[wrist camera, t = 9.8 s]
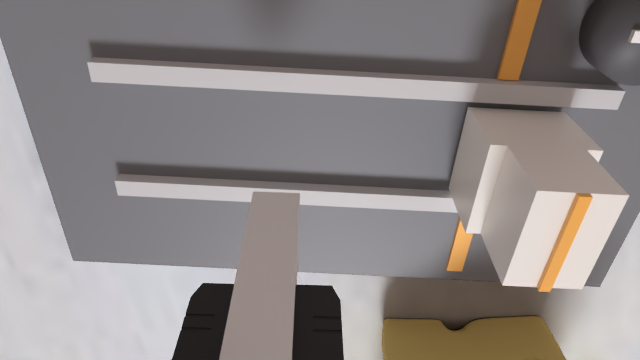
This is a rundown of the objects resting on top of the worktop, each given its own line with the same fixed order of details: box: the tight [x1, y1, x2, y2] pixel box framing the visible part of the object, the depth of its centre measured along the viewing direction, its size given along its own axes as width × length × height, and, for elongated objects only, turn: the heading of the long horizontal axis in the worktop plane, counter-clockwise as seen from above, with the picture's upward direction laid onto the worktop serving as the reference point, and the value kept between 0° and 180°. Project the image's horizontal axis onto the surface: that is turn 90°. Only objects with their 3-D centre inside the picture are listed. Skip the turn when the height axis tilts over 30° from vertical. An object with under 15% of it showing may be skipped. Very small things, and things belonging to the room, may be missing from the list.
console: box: [0, 0, 640, 287], centre depth 20 cm, size 28×16×4 cm, turn 87°
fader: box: [449, 107, 629, 292], centre depth 17 cm, size 4×4×6 cm
